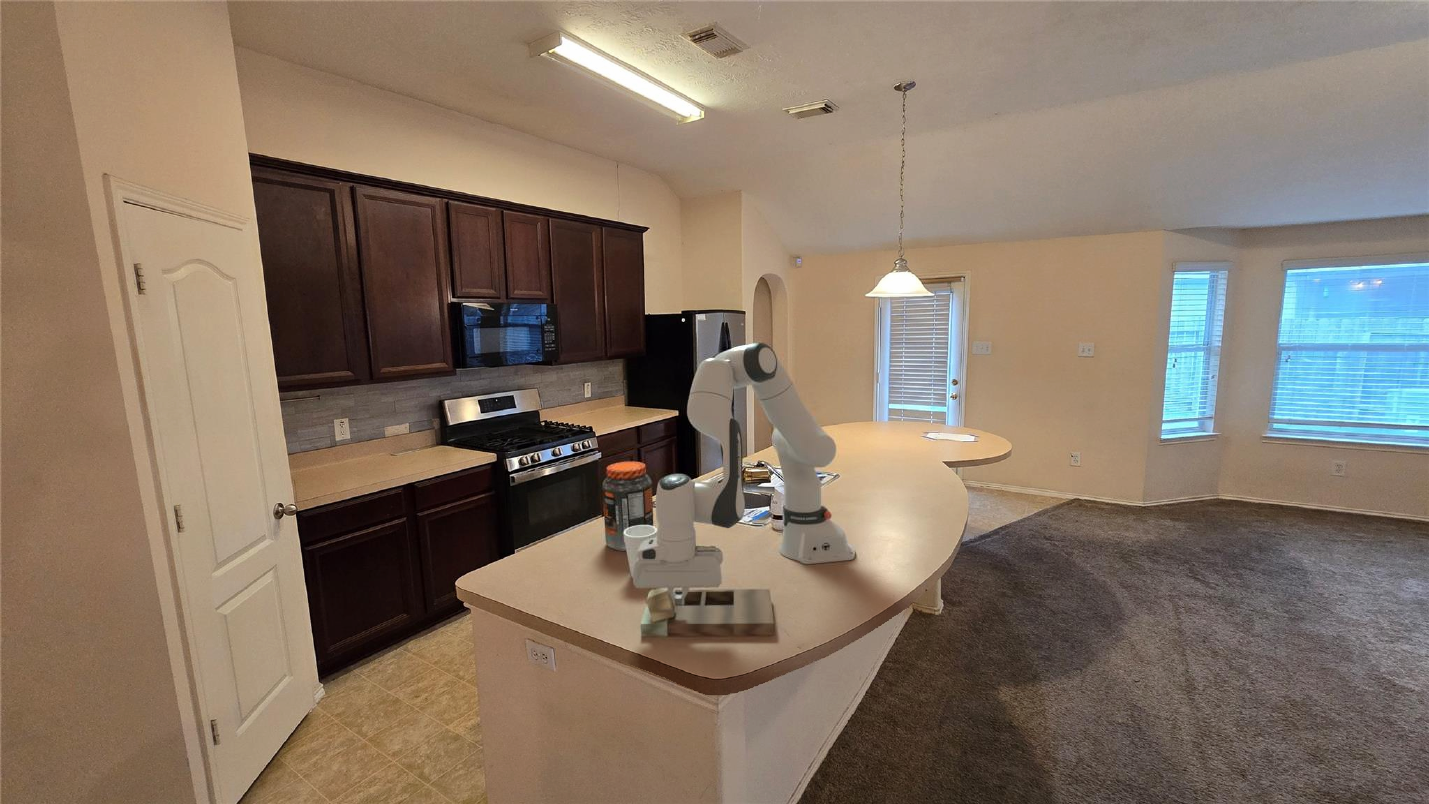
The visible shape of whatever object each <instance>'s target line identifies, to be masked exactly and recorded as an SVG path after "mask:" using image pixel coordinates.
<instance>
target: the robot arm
mask: <svg viewBox="0 0 1429 804" xmlns="http://www.w3.org/2000/svg"><path fill="white" fill-rule="evenodd" d="M748 386H751V387H752V390H753V392H754V394H755V396H756V398H757V400H758V402H759V404H760V407H761V408H762V410H763V412H764V414H765V416H766V417H767V419H768V421H769V422H770V424H771V425H772V426H774V427H775V428H774V430H773V432H772V434H771V444H772V447H773V449H774V450H775V452H776V455H777V459H778V463H779V466H780V469H781V470H780V471H781V474H782V480H783V493H784V495H783V497H784V498H783V499H784V500H783V501H784V504H783V506H782V524H783V529H782V530H783V531H782V532H783V533H782V538H781V542H780V546H779V552H780V554H781V555H782V556H784V557H786V558H788V559H790V560H794V561H797V562H799V563H801V564H804V565H812V564H821V563H832V562H842V561H843V562H844V561H850V560H851V561H852V560H854V559H855V556H856V551H855V548H854V546H853V544H851V543H850V542H849V541H848V540H847V536H846V533H845V532H844V530H843V528H842V527H841V526H839V524H837V523H835V521H833V520H831V518H832V516H833V515H832V513H831V512H830V511H829V509H828V508H827V507H826V506H825V505H822V482H821V479H820V477H819V476H818V474H817V472H816V468H819V469H820V468H825V467H827V466H829V465H830V464H831V463H832V462H833V461H834V460H835V457H836V454H837V445H836V442H835V440H834V438H832V437H831V436H830V435H829V434H828V433H827V432H826V431H825V430H824V429H823V428H822V426H821V425H820V424H819V423H818V421H817V419H815V417H814V416H813V415H812V414H811V412H810V410H808V408H807V407H806V405H805V403H804V402H803V401H802V399H801V397H800V394H799V393H798V391H797V388H796V387H795V385H794V383H793V381H792V379H791V377H790V375H789V373H788V372H787V370H786V369H785V367H784V366H783V364H782V363H781V362H780V360H779V359H778V357H777V355H776V352H775V351H774V350H773V348H772V347H770V346H769V345H768V344H767V343H764V342H751V343H749V344H743V345H738V346H735V347H732V348H730V349H727V350H725V351H722V352H718V353H715V354H714V355H712V356H711V357H709V358H707V359H706V358H705V359H704V360H703V361H701V362H700V364H699V365H698V368H697V370H696V371H695V375H694V377H693V380H692V384H691V387H690V391H689V396H688V400H687V407H686V409H687V410H686V416H687V418H688V421H689V422H690V424H691V425H692V427H693V428H694V429H696V430H697V431H698V432H700V433H701V434H702V435H705V436H706V437H709V438H711V439H713V440H715V441H716V442H718V443H719V444H720V445H721V448H722V481H721V482H720V483H719V482H718V483H717V482H706V481H701V480H700V481H699V480H693V479H691V477H690V476H688V475H687V474H684V473H671V474H669V475H665V476H664V477H662V478H660V480H658V483H657V488H656V496H655V518H656V521H657V536H656V537H653V538H650V539H647V540H644V541H642V543H641V544H640V546H639V548H638V551H637V557H638V558H637V560H636V563H635V566H634V573H633V578H632V583H633V585H634V586H635V587H636V588H637V589H661V588H667V592H668V593H669V595H670V596H671V598H673V605H684V603H685V596H686V595H687V593H688V590H690V588H699V589H700V588H719V587H720V586H721V584H722V579H723V576H722V567H721V566H722V565H721V564H722V563H723V561H724V560H723V559H724V556H723V551H722V550H721V549H720V548H718V547H716V546H715V545H710V546H706V545H697V543H696V542H697V536H696V535H697V533H696V529H695V525H694V523H699V524H700V523H701V524H705V525H706V524H707V525H714V526H716V527H720V528H725V529H730V528H732V527H733V526H735V525H737V524H738V523H739V522H740V521H741V520H742V519H743V517H744V515H745V510H746V502H745V491H744V481H743V480H744V477H743V476H744V474H743V472H744V471H743V470H744V469H743V468H744V467H743V466H744V465H743V438H742V430H741V426H740V423H739V421H738V420H736V419H735V418H734V417H733V412H732V405H733V396H734V389H742V388H746V387H748ZM677 588H678V589H679V588H681V590H682V591H683V593H682V595H676V594H675V592H674V590H675V589H677Z"/></svg>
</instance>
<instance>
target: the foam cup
mask: <svg viewBox="0 0 1429 804" xmlns="http://www.w3.org/2000/svg"><path fill="white" fill-rule="evenodd" d="M657 530H658V527H655V526H654V525H653V526H650V525H637V526H632V527H629V528H627V529H626V530H624V542H625V546H626V551H625V552H626V556H627V561H628V567H629V570H630V571H629V573H630V575H631V578H632V579H633V573H634V566H635V563H636V560H637V558H638V557H637V551H638V548H639V546H640V544H641V543H642V541H644V540H647V539H650V538H653V537H656V536H657Z"/></svg>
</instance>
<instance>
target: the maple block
mask: <svg viewBox="0 0 1429 804" xmlns="http://www.w3.org/2000/svg"><path fill="white" fill-rule="evenodd" d="M652 590H653V591H651V590H650V591H648V596H647V598H646V601H645V603H646V606H648V609H649V612H650V615H651V618H652V621H653V622H655V621H659V620H663V619H666V618H670V617H674V613H675V608H676V605H673V598H671V596H670V595H669V593H668V592H667V588H656V589H652Z"/></svg>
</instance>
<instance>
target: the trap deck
mask: <svg viewBox="0 0 1429 804" xmlns="http://www.w3.org/2000/svg"><path fill="white" fill-rule="evenodd" d="M653 590H654V589H651V590H650V591H653ZM674 592H675V594H676V595H682V593H683V591H682V589H674ZM763 635H765V636H763ZM767 635H770V636H769V637H773V636H772V635H774V636H775V622H774V614H773V606H772V598H771V589H770V588H764V589H763V588H756V589H755V588H753V589H752V588H750V589H748V588H745V589H742V588H741V589H740V588H739V589H734V588H733V589H730V588H729V589H728V588H727V589H725V588H723V589H689V590H688V593H687V595H686V596H685V603H684V605H676V608H675V613H674V617H670V618H666V619H663V620H659V621H655V622H653V621H652V618H651V615H650V612H649V609H648V606H647V605H645V609H644V612H643V615H642V618H641V622H640V637H768V636H767Z"/></svg>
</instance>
